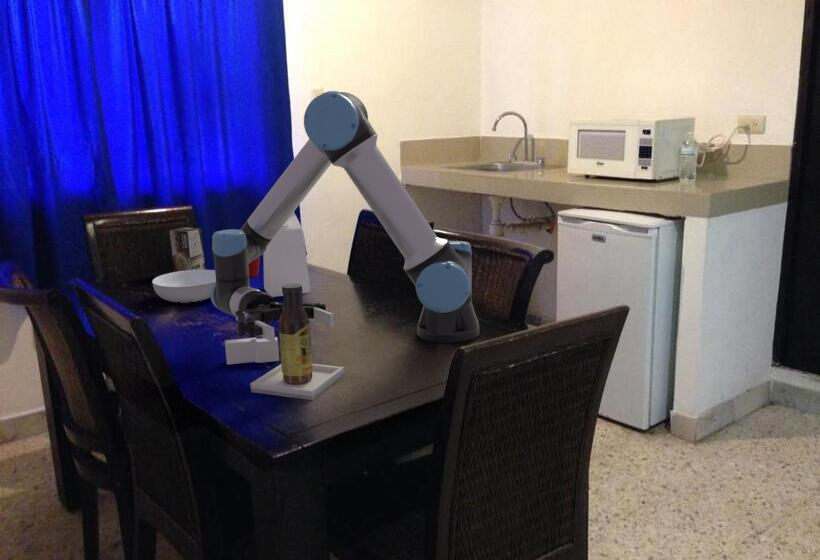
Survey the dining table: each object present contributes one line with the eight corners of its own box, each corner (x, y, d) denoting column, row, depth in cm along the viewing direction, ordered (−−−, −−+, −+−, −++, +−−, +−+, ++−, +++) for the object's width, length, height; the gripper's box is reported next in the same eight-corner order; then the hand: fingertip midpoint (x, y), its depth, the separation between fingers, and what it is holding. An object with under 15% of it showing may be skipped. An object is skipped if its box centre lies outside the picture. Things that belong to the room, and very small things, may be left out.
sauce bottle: (309, 385, 149) (302, 289, 144) (278, 385, 149) (271, 290, 145) (316, 374, 155) (310, 281, 150) (287, 373, 156) (281, 282, 151)
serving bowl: (140, 307, 215) (137, 284, 213) (178, 289, 234) (176, 268, 233) (205, 310, 210) (202, 286, 208) (238, 291, 229) (236, 270, 228)
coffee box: (206, 274, 254) (202, 228, 250) (192, 278, 249) (187, 231, 245) (188, 272, 259) (183, 226, 255) (173, 276, 254) (168, 229, 250)
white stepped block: (211, 367, 164) (209, 343, 163) (243, 351, 174) (241, 328, 173) (267, 376, 158) (265, 351, 157) (297, 359, 168) (295, 335, 167)
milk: (301, 284, 236) (296, 203, 230) (310, 292, 226) (304, 207, 220) (264, 288, 232) (257, 206, 226) (271, 297, 222) (264, 210, 216)
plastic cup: (231, 274, 254) (228, 239, 251) (263, 271, 257) (260, 237, 254) (233, 281, 243) (230, 245, 241) (266, 278, 246) (264, 242, 244)
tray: (344, 375, 156) (344, 367, 156) (312, 400, 143) (312, 391, 143) (286, 368, 161) (286, 360, 161) (251, 392, 148) (250, 383, 148)
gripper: (303, 312, 171) (356, 332, 155) (201, 335, 156) (247, 359, 140) (301, 280, 170) (354, 297, 153) (198, 300, 155) (244, 321, 138)
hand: (303, 327), depth 147 cm, fingers open, 13 cm apart
